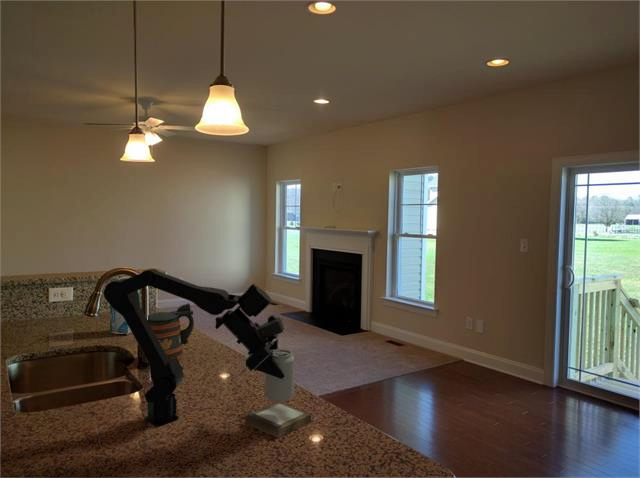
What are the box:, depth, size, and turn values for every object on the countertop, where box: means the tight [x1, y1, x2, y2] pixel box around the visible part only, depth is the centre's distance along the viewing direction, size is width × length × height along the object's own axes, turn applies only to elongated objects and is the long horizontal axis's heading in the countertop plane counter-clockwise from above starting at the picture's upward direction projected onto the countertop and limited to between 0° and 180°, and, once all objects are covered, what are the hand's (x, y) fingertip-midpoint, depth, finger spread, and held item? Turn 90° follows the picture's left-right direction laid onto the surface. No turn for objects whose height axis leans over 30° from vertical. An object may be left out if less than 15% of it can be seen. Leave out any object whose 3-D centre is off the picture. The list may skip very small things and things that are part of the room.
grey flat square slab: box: [244, 402, 312, 439], centre depth 120 cm, size 12×12×3 cm
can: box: [264, 348, 295, 403], centre depth 120 cm, size 8×8×12 cm
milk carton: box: [109, 275, 141, 333], centre depth 209 cm, size 9×9×25 cm
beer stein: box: [147, 302, 195, 361], centre depth 173 cm, size 19×15×20 cm
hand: (284, 372), depth 120 cm, fingers closed on can, 7 cm apart
